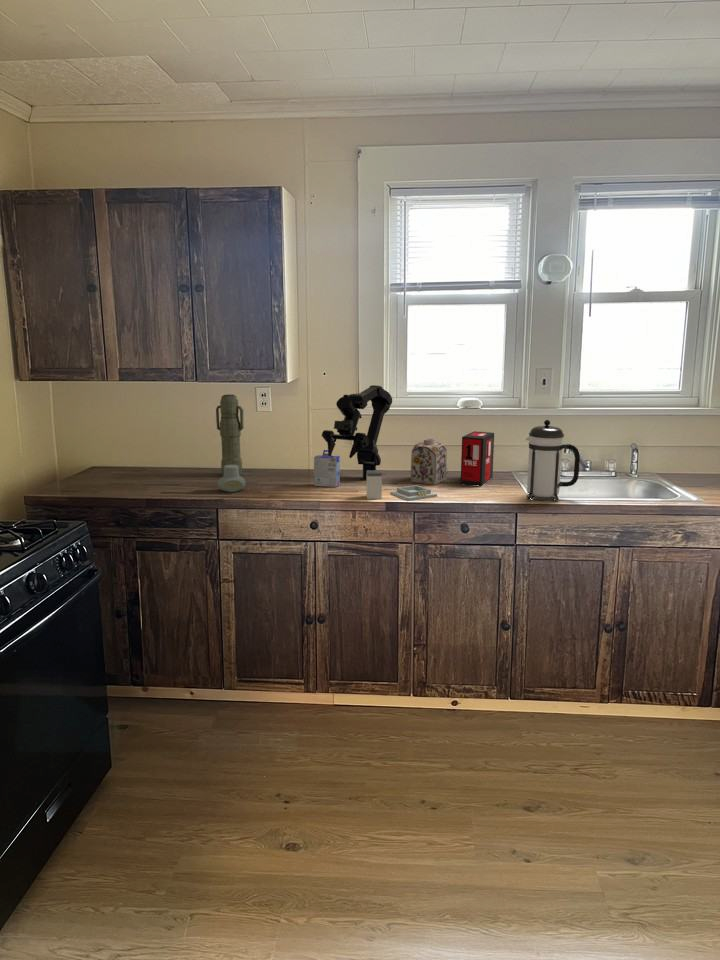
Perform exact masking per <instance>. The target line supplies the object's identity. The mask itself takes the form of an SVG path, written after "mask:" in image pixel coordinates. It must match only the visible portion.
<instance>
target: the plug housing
mask: <svg viewBox="0 0 720 960" xmlns="http://www.w3.org/2000/svg"><path fill="white" fill-rule="evenodd" d="M382 475H383V472H382V470H380V469H376V470H367V479H366V489H365V490H366V494H365V495H366V499H367V500H382V495H383V493H382V492H383V490H382V488H383V486H382V484H383V481H382V480H383V476H382Z"/></svg>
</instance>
